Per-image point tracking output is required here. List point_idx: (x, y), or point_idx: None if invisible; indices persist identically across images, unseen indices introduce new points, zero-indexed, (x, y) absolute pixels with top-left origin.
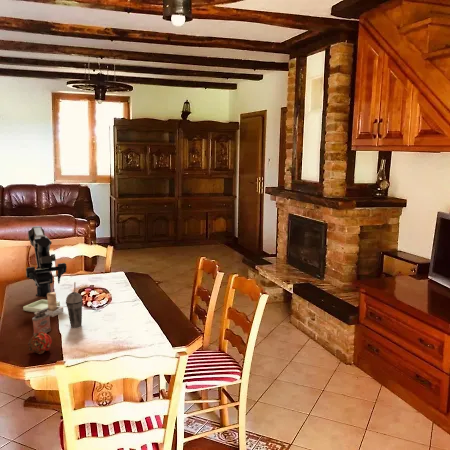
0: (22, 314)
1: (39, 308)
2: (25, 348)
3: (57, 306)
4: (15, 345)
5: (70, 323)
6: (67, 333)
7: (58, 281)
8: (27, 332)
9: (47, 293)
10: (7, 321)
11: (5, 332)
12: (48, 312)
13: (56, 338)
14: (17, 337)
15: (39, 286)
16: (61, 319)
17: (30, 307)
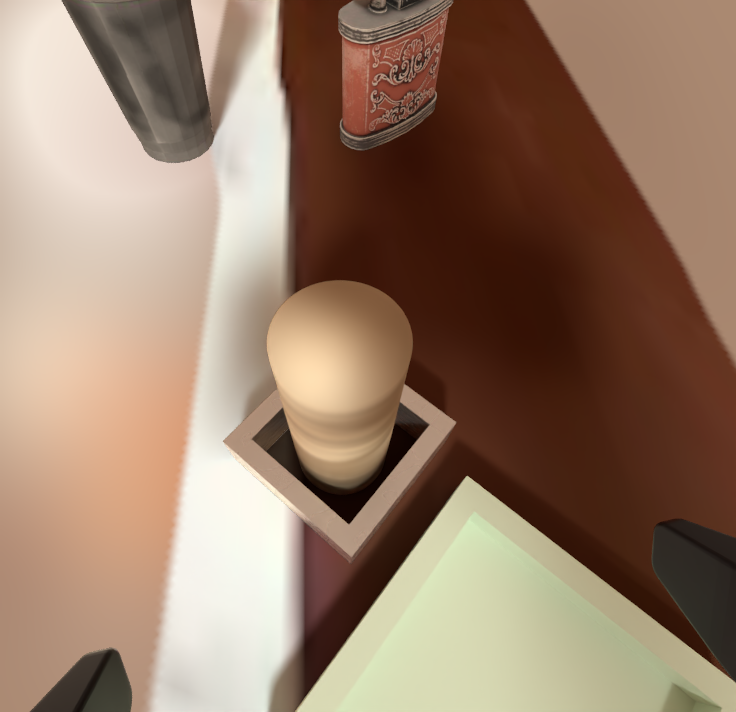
0: None
1: (502, 525)
2: None
3: (287, 486)
4: (499, 37)
5: (208, 105)
6: (244, 75)
7: (91, 679)
8: (482, 143)
9: (405, 360)
10: (725, 372)
11: (627, 179)
12: None
13: (305, 44)
14: (521, 103)
15: (652, 563)
16: (267, 278)
17: (635, 615)
